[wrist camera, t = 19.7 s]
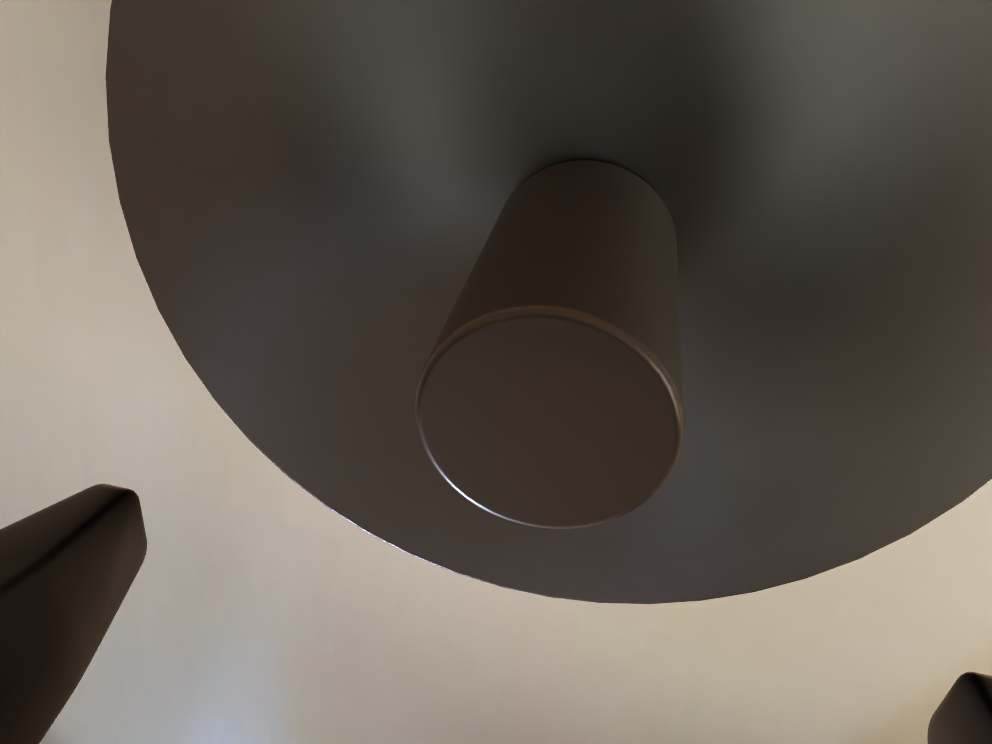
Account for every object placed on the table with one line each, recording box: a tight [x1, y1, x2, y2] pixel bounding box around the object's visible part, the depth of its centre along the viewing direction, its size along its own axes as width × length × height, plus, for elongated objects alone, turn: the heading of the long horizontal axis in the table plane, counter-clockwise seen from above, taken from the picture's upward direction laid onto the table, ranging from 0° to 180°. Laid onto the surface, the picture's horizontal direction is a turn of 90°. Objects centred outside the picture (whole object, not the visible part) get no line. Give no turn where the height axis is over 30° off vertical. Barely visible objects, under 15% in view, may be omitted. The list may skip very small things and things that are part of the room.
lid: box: [106, 0, 992, 604], centre depth 10 cm, size 15×15×6 cm
